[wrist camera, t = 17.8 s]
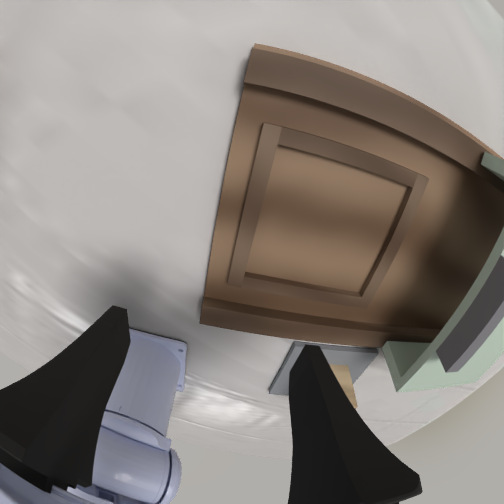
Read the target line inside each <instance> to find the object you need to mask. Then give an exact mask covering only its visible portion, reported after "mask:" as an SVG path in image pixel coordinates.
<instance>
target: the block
mask: <svg viewBox="0 0 504 504" xmlns="http://www.w3.org/2000/svg"><path fill="white" fill-rule="evenodd" d="M329 365H330V367H331V369H332V371H333V373H334V374H335V376H336V378H337V380H338V382H339V384H340V385H341V387H342V389H343V390H344V392H345V394H346V396H347V397H348V399H349V400H350V402H351V404H352V405H353V407H354V408H355V409H356V408H357V402H356V397H355V393H354V388H353V384H352V379H351V375H350V371H349V367H348V365H333V364H329Z"/></svg>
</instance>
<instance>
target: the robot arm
mask: <svg viewBox="0 0 504 504" xmlns="http://www.w3.org/2000/svg"><path fill="white" fill-rule="evenodd" d="M186 352H187V345H186V343H184V342H181V341H177V340H173V339H168V338H164V337H160V336H156V335H152V334H148V333H144V332H140V331H137V330H133V329H129V324H128V316H127V309H124V308H120V307H117V306H112V307H110V308H109V309H108V310H107V311H106V312H105V313H104V314H103V315H102V316H101V317H100V318H99V319H98V320H97V321H96V322H95V323H94V324H93V325H92V326H90V327H89V328H88V329H87V330H86V331H85V332H84V333H83V334H82V335H81V336H80V337H78V338H77V339H76V340H75V341H74V342H73V343H72V344H70V345H69V346H68V347H67V348H66V349H64V350H63V351H62V352H61V353H60V354H58V355H57V356H56V357H54V358H53V359H52V360H50V361H49V362H48V363H46V364H45V365H43V366H42V367H41V368H39V369H37V370H36V371H34V372H33V373H31V374H30V375H28V376H27V377H25V378H23V379H21V380H19V381H17V382H15V383H13V384H11V385H9V386H7V387H5V388H3V389H1V390H0V504H169V503H170V502H171V501H172V500H173V499H174V497H175V495H176V493H177V491H178V488H179V484H180V479H181V462H180V459H179V457H178V455H177V453H176V452H175V450H174V449H172V448H170V445H171V439H168V438H166V434H167V429H168V425H169V420H170V415H171V410H172V406H173V401H174V397H175V392H176V391H180V392H182V391H184V382H185V366H186ZM289 404H290V415H291V426H292V438H293V456H292V473H291V485H290V492H289V500H288V504H399V502H400V501H403V500H406V499H408V498H411V497H414V496H417V495H419V494H421V493H422V487H421V482H420V477H419V475H418V474H417V473H416V472H415V471H413V470H412V469H410V468H409V467H408V466H406V465H405V464H404V463H402V462H401V461H400V460H399V459H398V458H397V457H396V456H395V455H394V454H392V453H391V452H390V451H389V450H388V449H387V448H386V447H385V446H384V445H383V443H382V442H381V441H380V440H379V439H378V438H377V437H376V436H375V435H374V434H373V432H372V431H371V430H370V429H369V428H368V426H367V425H366V424H365V422H364V421H363V420H362V418H361V417H360V416H359V414H358V413H357V411H356V410H355V408H354V407H353V405H352V404H351V402H350V400H349V399H348V397H347V396H346V394H345V392H344V390H343V389H342V387H341V385H340V384H339V382H338V380H337V378H336V376H335V374H334V373H333V371H332V369H331V367H330V365H329V363H328V361H327V359H326V357H325V355H324V354H323V352H322V350H321V348H320V346H316V345H307V344H305V346H304V348H303V349H302V351H301V353H300V355H299V356H298V358H297V360H296V362H295V363H294V365H293V367H292V368H291V370H290V372H289Z"/></svg>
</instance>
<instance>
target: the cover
mask: <svg viewBox="0 0 504 504" xmlns="http://www.w3.org/2000/svg"><path fill="white" fill-rule="evenodd" d="M481 165H483V166H484V167H486V168H487V169H488V170H490V171H491V172H492V173H494V174H495V175H496V176H498V177H499V178H500V179H502V180H503V181H504V160H503V159H501V158H498V157H496V156H494V155H492V154H490V153H487V152H485V153H484V156H483V159H482V162H481ZM382 350H383V353H384V356H385V359H386V362H387V365H388V367H389V370H390V373H391V376H392V379H393V383H394V386H395V389H396V392H408V391H419V390H428V389H437V388H444V387H451V386H458V385H463V384H469V383H474V382H476V381H477V380H478V379H479V378H480V377H481V376H482V375H483V374H484V373H485V372H486V371H487V370H488V369H489V368H490V367H491V366H492V365H493V364H494V363H495V361H496V360H497V359H498V358H499V357H500V356H501V355H502V353H503V352H504V227H503V229H502V232H501V234H500V236H499V238H498V240H497V242H496V244H495V246H494V248H493V250H492V252H491V254H490V256H489V257H488V259H487V261H486V263H485V265H484V267H483V268H482V270H481V272H480V273H479V275H478V277H477V279H476V280H475V282H474V283H473V285H472V287H471V288H470V290H469V291H468V293H467V295H466V296H465V298H464V299H463V301H462V302H461V304H460V305H459V307H458V308H457V309H456V311H455V312H454V314H453V315H452V317H451V318H450V319H449V321H448V322H447V323H446V325H445V326H444V327H443V329H442V330H441V331H440V333H439V334H438V335H437V337H436V338H435V339H434V340H433V342H432V343H416V342H397V341H387V342H386V343H385V344H384V346H383V347H382Z"/></svg>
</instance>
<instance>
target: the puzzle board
mask: <svg viewBox="0 0 504 504" xmlns="http://www.w3.org/2000/svg"><path fill="white" fill-rule="evenodd" d="M244 83H245V84H244V89H243V93H242V97H241V101H240V106H239V110H238V115H237V119H236V124H235V128H234V133H233V138H232V142H231V147H230V152H229V157H228V162H227V167H226V172H225V177H224V182H223V187H222V193H221V198H220V203H219V209H218V214H217V220H216V226H215V232H214V237H213V243H212V249H211V255H210V262H209V268H208V274H207V281H206V287H205V294H204V299H203V303H202V309H201V316H200V324H205V325H210V326H215V327H220V328H226V329H231V330H237V331H243V332H249V333H255V334H261V335H267V336H274V337H281V338H288V339H296V340H304V341H312V342H321V343H331V344H341V345H353V346H366V347H381V348H382V347H383V346H384V344H385V343H386V342H387V341H397V342H416V343H432V342H433V340H434V339H435V338H436V337H437V335H438V334H439V333H440V331H441V330H442V329H443V327H444V326H445V325H446V323H447V322H448V321H449V319H450V318H451V317H452V315H453V314H454V312H455V311H456V309H457V308H458V307H459V305H460V304H461V302H462V301H463V299H464V298H465V296H466V295H467V293H468V291H469V290H470V288H471V287H472V285H473V283H474V282H475V280H476V279H477V277H478V275H479V273H480V272H481V270H482V268H483V267H484V265H485V263H486V261H487V259H488V257H489V256H490V254H491V252H492V250H493V248H494V246H495V244H496V242H497V240H498V238H499V236H500V234H501V232H502V229H503V227H504V181H503V180H502V179H500V178H499V177H498V176H496V175H495V174H494V173H492V172H491V171H490V170H488V169H487V168H486V167H484V166H483V165H481V162H482V159H483V156H484V153H485V152H487V153H490V154H492V155H494V156H496V157H498V158H501V159H503V158H502V157H500V156H499V155H498V154H497V153H496V152H494V151H493V150H492V149H491V148H489V147H488V146H487V145H485V144H484V143H483V142H481V141H480V140H479V139H477V138H476V137H475V136H473V135H472V134H471V133H469V132H468V131H466V130H465V129H463V128H462V127H460V126H459V125H457V124H456V123H454V122H453V121H451V120H450V119H448V118H447V117H445V116H443V115H442V114H440V113H438V112H437V111H435V110H433V109H432V108H430V107H428V106H426V105H425V104H423V103H421V102H419V101H417V100H415V99H414V98H412V97H410V96H408V95H406V94H404V93H402V92H400V91H398V90H396V89H394V88H392V87H390V86H387V85H385V84H383V83H381V82H379V81H376V80H374V79H372V78H369V77H367V76H364V75H362V74H359V73H357V72H354V71H352V70H349V69H346V68H344V67H341V66H338V65H335V64H332V63H329V62H326V61H323V60H320V59H317V58H313V57H310V56H306V55H303V54H299V53H296V52H292V51H288V50H284V49H279V48H275V47H270V46H266V45H261V44H254V48H252V51H251V55H250V59H249V63H248V67H247V71H246V75H245V79H244ZM503 160H504V159H503Z"/></svg>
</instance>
